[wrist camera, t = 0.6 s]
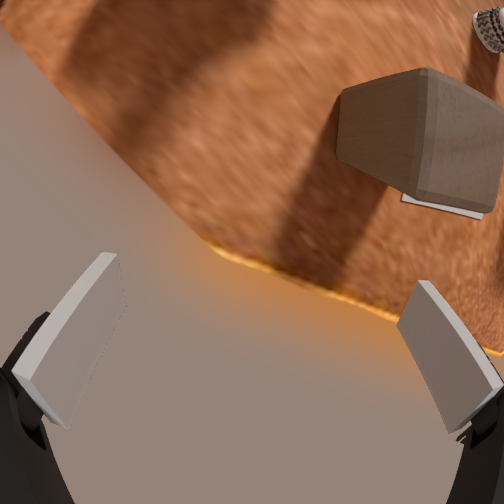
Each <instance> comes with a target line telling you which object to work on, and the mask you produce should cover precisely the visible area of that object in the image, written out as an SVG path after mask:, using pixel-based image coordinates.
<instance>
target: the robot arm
mask: <svg viewBox="0 0 504 504" xmlns="http://www.w3.org/2000/svg"><path fill="white" fill-rule="evenodd" d="M125 308H126V301H125V296H124V291H123V285H122V279H121V273H120V266H119V259H118V254H117V253H109V252H102V253H101V254H100V255H99V256H98V257H97V258H96V259H95V260H94V261H93V263H92V264H91V265H90V266H89V267H88V268H87V270H86V271H85V272H84V273H83V274H82V275H81V276H80V278H79V279H78V280H77V281H76V282H75V284H74V285H73V286H72V287H71V288H70V290H69V291H68V292H67V293H66V295H65V296H64V297H63V298H62V300H61V301H60V302H59V303H58V305H57V306H56V307H55V308H54V310H53V311H52V313H49V312H45V313H44V314H42V315H41V316H39V317H38V318H36V319H35V321H34V322H33V323H32V324H31V326H30V327H29V328H28V331H26V333H25V334H24V335H23V337H22V339H20V341H19V342H18V344H17V345H16V347H15V348H14V350H13V351H12V353H11V354H10V355H9V357H8V359H7V360H6V362H5V363H4V365H3V366H2V368H0V504H75V503H74V501H73V499H72V497H71V495H70V493H69V491H68V489H67V487H66V484H65V482H64V480H63V478H62V475H61V473H60V471H59V468H58V465H57V463H56V460H55V457H54V455H53V452H52V449H51V446H50V443H49V440H48V437H47V434H46V430H45V427H44V424H43V422H42V421H41V418H42V416H43V414H44V415H45V416H46V417H47V418H48V419H49V420H50V421H51V422H52V423H54V424H56V425H59V426H61V427H63V428H66V429H68V430H69V429H70V426H71V423H72V421H73V418H74V416H75V413H76V411H77V408H78V406H79V404H80V401H81V399H82V396H83V394H84V392H85V390H86V387H87V385H88V383H89V381H90V379H91V376H92V374H93V372H94V370H95V368H96V366H97V363H98V361H99V359H100V357H101V355H102V353H103V351H104V349H105V347H106V345H107V343H108V341H109V339H110V337H111V335H112V333H113V331H114V329H115V327H116V325H117V323H118V321H119V319H120V318H121V316H122V314H123V312H124V310H125ZM396 326H397V328H398V329H399V331H400V333H401V335H402V337H403V338H404V340H405V342H406V344H407V346H408V348H409V350H410V352H411V354H412V356H413V357H414V359H415V361H416V363H417V365H418V367H419V369H420V371H421V373H422V375H423V377H424V380H425V381H426V384H427V386H428V388H429V390H430V392H431V394H432V396H433V398H434V401H435V403H436V405H437V407H438V410H439V412H440V414H441V417H442V419H443V422H444V424H445V426H446V429H447V431H448V434H450V433H452V432H454V431H457V430H459V429H461V428H462V427H463V426H465V425H466V424H467V423H468V422H469V421H470V420H471V423H472V425H471V426H470V427H469V428H467V429H466V430H465V431H464V432H463V433H462V434H460V435H459V436H458V437H457V440H456V441H457V442H458V441H459V440H460V439H462V437H464V436H466V437H465V438H464V439H463V440H462V441H461V443H462V444H464V448H463V452H462V456H461V460H460V463H459V467H458V470H457V474H456V477H455V480H454V484H453V486H452V489H451V492H450V495H449V498H448V500H447V503H446V504H504V382H503V380H502V378H501V377H500V375H499V373H498V372H497V370H496V369H495V367H494V365H493V364H492V363H491V362H490V359H489V358H488V356H487V355H485V354H486V353H485V352H484V350H483V349H482V347H481V346H480V344H478V343H477V342H476V341H475V339H474V338H473V336H472V335H471V334H470V332H469V331H468V329H467V328H466V327H465V325H464V324H463V323H462V321H461V320H460V319H459V317H458V316H457V315H456V313H455V312H454V311H453V310H452V308H451V307H450V306H449V305H448V303H447V302H446V301H445V300H444V298H443V297H442V296H441V295H440V293H439V292H438V291H437V290H436V289H435V287H434V286H433V285H432V284H431V283H430V281H426V280H417V282H416V284H415V287H414V289H413V291H412V293H411V296H410V298H409V300H408V302H407V304H406V306H405V309H404V311H403V313H402V315H401V317H400V319H399V321H398V323H397V325H396Z"/></svg>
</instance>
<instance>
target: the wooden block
mask: <svg viewBox="0 0 504 504" xmlns="http://www.w3.org/2000/svg"><path fill="white" fill-rule="evenodd" d="M336 157H337V159H338V160H339V161H341V162H343V163H345V164H347V165H349V166H352V167H354V168H356V169H358V170H360V171H362V172H364V173H366V174H368V175H370V176H372V177H374V178H376V179H378V180H380V181H382V182H384V183H386V184H388V185H389V186H391V187H393V188H395V189H397V190H399V191H400V192H402V193H404V194H406V195H408V196H409V197H411V198H413V199H415V200H416V201H421V202H427V203H433V204H438V205H444V206H449V207H454V208H459V209H464V210H469V211H473V212H478V213H482V214H484V213H490V212H492V210H493V208H494V207H495V202H496V198H497V193H498V188H499V183H500V177H501V171H502V164H503V157H504V108H503V107H502V106H501V105H499V104H498V103H496V102H495V101H493V100H492V99H490V98H488V97H487V96H485V95H484V94H482V93H480V92H478V91H477V90H475V89H473V88H471V87H469V86H468V85H466V84H464V83H462V82H460V81H458V80H456V79H454V78H452V77H450V76H448V75H446V74H444V73H442V72H439V71H437V70H435V69H433V68H430V67H427V68H419V69H414V70H410V71H405V72H401V73H397V74H393V75H390V76H386V77H382V78H378V79H375V80H371V81H368V82H365V83H361V84H358V85H355V86H352V87H349V88H346V89H343V90H342V92H341V95H340V111H339V124H338V135H337V146H336Z"/></svg>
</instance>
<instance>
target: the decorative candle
mask: <svg viewBox="0 0 504 504" xmlns="http://www.w3.org/2000/svg"><path fill="white" fill-rule="evenodd" d="M472 21H473V26H474V29H475V31H476V34H477V36H478V37H479V39H480V40H481V42H482V44H483V45H484V46H485V47H486V48H487V49H488V50H490V51H491V52H493V53H500V51H501V52H502V53H504V8H499V7H497V9H493V8H492V10H490V11H489V10H485V11H484V12H483V11H480V13H476V14H474V15H473V20H472Z"/></svg>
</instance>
